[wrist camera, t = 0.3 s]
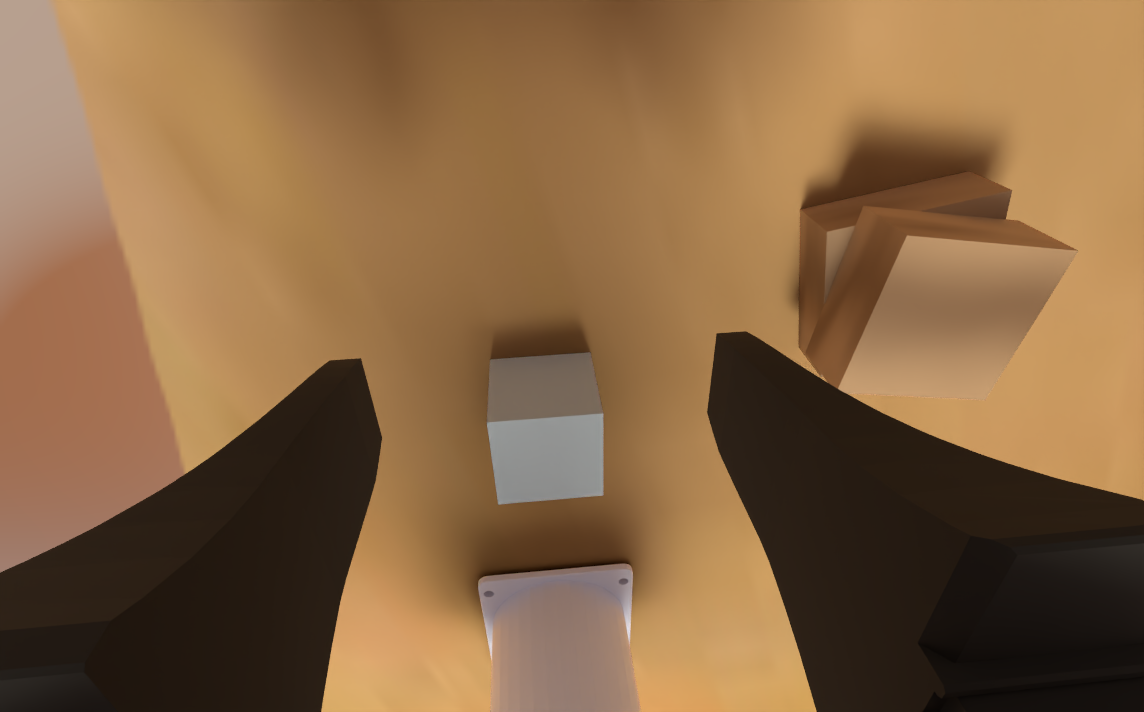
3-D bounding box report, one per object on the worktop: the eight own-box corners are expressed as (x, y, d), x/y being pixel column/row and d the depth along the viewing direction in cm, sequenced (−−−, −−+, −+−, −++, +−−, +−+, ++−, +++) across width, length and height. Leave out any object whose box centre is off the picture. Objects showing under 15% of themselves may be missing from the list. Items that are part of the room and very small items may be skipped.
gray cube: (591, 427, 26) (603, 495, 23) (499, 435, 26) (498, 504, 22) (590, 351, 24) (603, 413, 20) (490, 358, 23) (486, 422, 20)
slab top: (941, 360, 23) (985, 400, 21) (805, 352, 22) (836, 392, 20) (1018, 220, 20) (1078, 250, 18) (863, 205, 19) (906, 235, 17)
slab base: (938, 311, 24) (978, 343, 22) (794, 342, 25) (821, 376, 23) (962, 168, 21) (1012, 190, 19) (796, 205, 21) (827, 231, 19)
